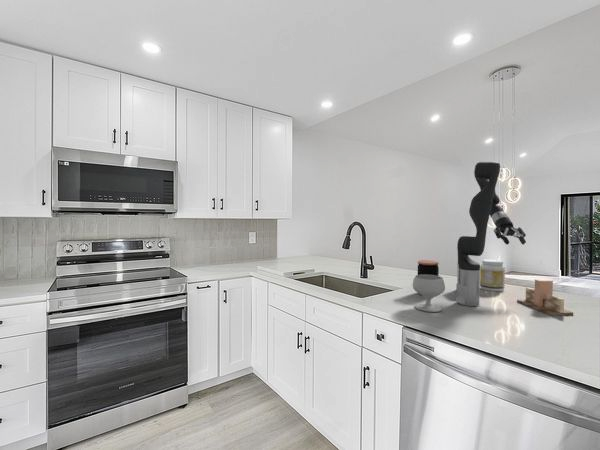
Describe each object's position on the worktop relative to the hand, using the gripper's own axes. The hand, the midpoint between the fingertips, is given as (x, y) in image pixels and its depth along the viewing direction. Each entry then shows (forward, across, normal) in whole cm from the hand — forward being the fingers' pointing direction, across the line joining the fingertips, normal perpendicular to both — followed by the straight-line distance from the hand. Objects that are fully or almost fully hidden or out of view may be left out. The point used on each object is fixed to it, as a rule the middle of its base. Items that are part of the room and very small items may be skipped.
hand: (516, 243), depth 158 cm
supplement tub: (+8, -1, +33) cm, 34 cm away
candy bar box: (+12, -20, +29) cm, 37 cm away
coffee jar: (+15, -43, +26) cm, 52 cm away
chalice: (+33, -54, +8) cm, 63 cm away
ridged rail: (+33, 0, +8) cm, 34 cm away
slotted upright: (+32, 0, +7) cm, 33 cm away
